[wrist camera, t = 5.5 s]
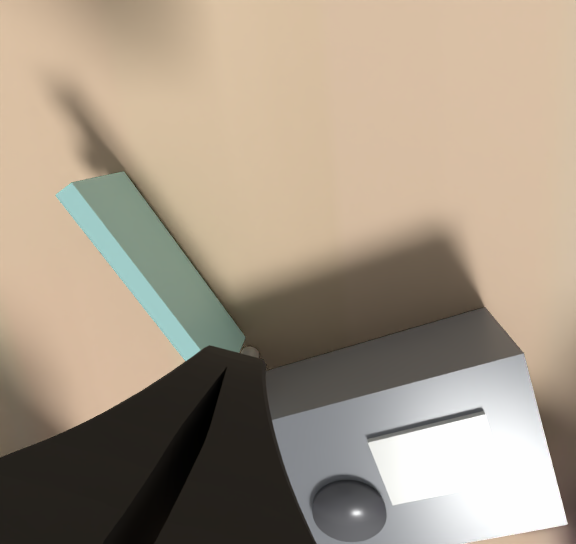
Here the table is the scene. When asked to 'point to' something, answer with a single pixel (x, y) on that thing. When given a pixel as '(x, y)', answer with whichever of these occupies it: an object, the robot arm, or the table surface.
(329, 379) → the camera case
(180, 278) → the teal bar
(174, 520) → the robot arm
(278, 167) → the table surface
